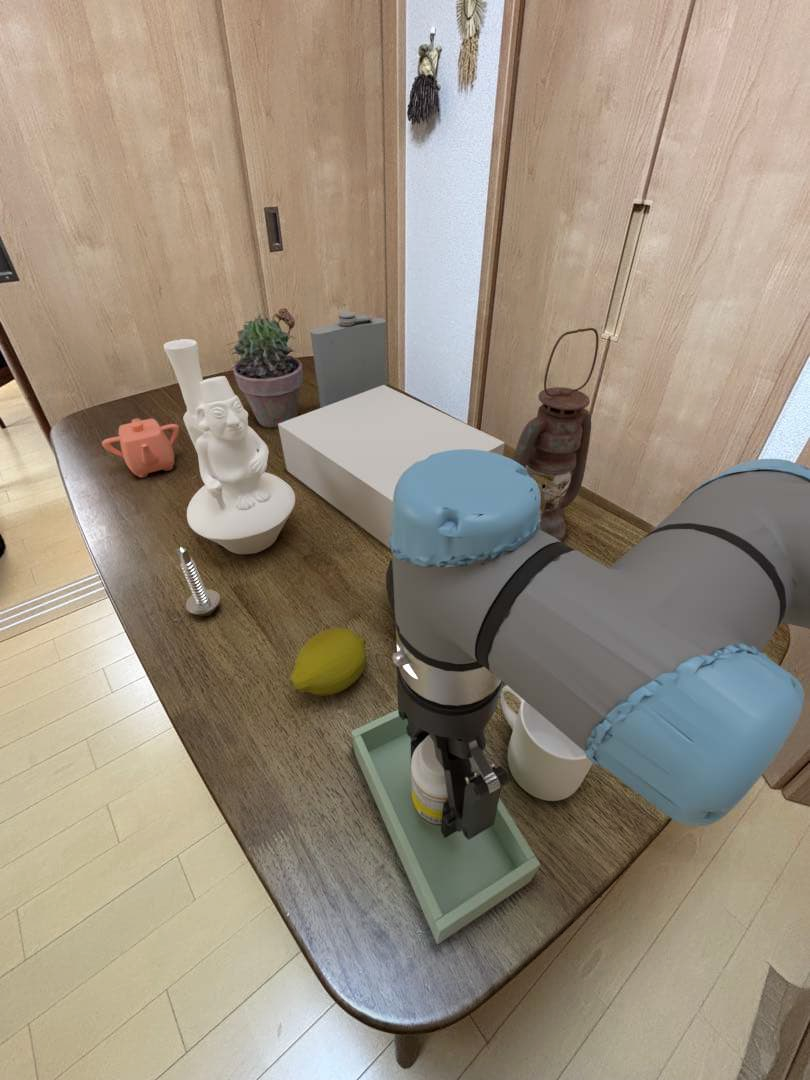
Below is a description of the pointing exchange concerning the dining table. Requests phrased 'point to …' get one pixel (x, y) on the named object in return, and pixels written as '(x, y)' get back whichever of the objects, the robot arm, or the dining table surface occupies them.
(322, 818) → the dining table surface
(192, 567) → the screw
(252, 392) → the potted plant
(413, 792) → the supplement bottle
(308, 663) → the lemon
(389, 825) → the bin
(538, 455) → the lantern
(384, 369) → the flask
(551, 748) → the mug
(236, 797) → the dining table surface
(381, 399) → the box
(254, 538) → the white sculpted figure
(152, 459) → the teapot
